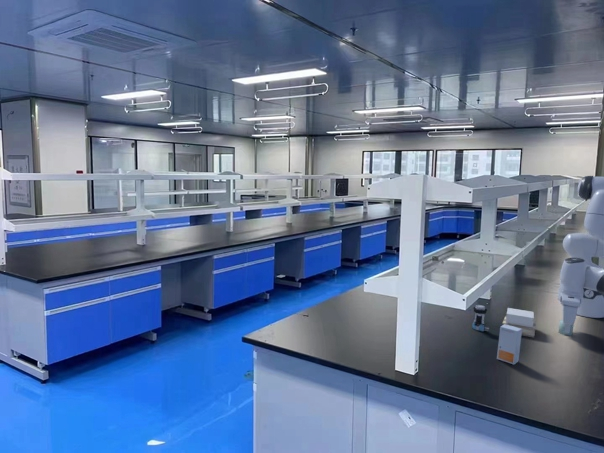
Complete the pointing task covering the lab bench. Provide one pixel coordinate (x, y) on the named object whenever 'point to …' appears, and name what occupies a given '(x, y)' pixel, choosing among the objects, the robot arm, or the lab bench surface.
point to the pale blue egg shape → (562, 327)
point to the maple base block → (524, 328)
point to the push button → (479, 318)
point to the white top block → (520, 317)
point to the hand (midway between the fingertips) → (566, 329)
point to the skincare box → (509, 344)
